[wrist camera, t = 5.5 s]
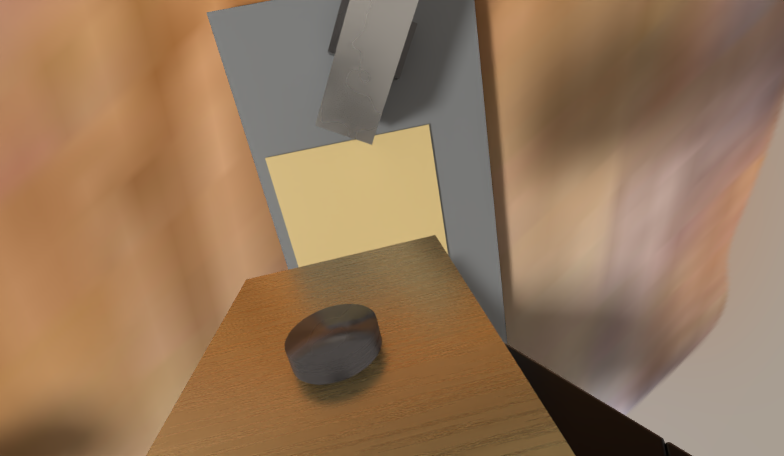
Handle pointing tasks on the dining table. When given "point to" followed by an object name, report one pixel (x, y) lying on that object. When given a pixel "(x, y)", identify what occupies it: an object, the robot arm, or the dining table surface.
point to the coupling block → (360, 368)
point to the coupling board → (362, 160)
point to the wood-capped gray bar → (365, 64)
